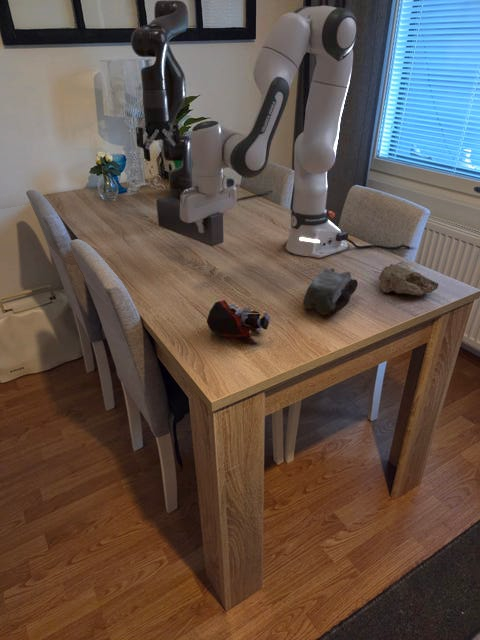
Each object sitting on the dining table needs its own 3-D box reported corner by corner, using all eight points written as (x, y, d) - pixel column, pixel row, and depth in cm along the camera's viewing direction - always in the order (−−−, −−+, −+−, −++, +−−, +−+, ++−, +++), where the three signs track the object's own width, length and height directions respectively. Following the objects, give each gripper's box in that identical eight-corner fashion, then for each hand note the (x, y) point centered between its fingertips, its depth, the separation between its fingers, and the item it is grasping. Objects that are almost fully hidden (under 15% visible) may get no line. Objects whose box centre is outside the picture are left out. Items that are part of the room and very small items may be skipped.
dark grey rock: (338, 325, 116) (342, 298, 112) (298, 314, 120) (300, 288, 116) (357, 296, 130) (361, 271, 126) (321, 287, 134) (323, 263, 130)
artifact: (399, 307, 125) (440, 299, 130) (406, 284, 121) (449, 278, 126) (362, 275, 139) (401, 270, 144) (368, 254, 135) (408, 249, 140)
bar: (158, 226, 148) (156, 199, 143) (170, 222, 151) (167, 195, 146) (212, 246, 133) (211, 217, 128) (223, 242, 136) (223, 213, 131)
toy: (264, 297, 102) (206, 289, 108) (254, 335, 100) (195, 325, 105) (276, 315, 113) (223, 308, 119) (267, 350, 110) (213, 341, 116)
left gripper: (139, 108, 132) (145, 164, 141) (181, 105, 139) (184, 158, 148) (129, 105, 137) (135, 159, 146) (170, 102, 144) (174, 154, 153)
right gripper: (187, 193, 119) (191, 241, 126) (239, 178, 132) (240, 223, 139) (172, 188, 123) (176, 236, 130) (224, 174, 135) (225, 218, 143)
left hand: (160, 159), depth 147 cm, fingers open, 8 cm apart
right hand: (209, 229), depth 135 cm, fingers closed on bar, 5 cm apart
